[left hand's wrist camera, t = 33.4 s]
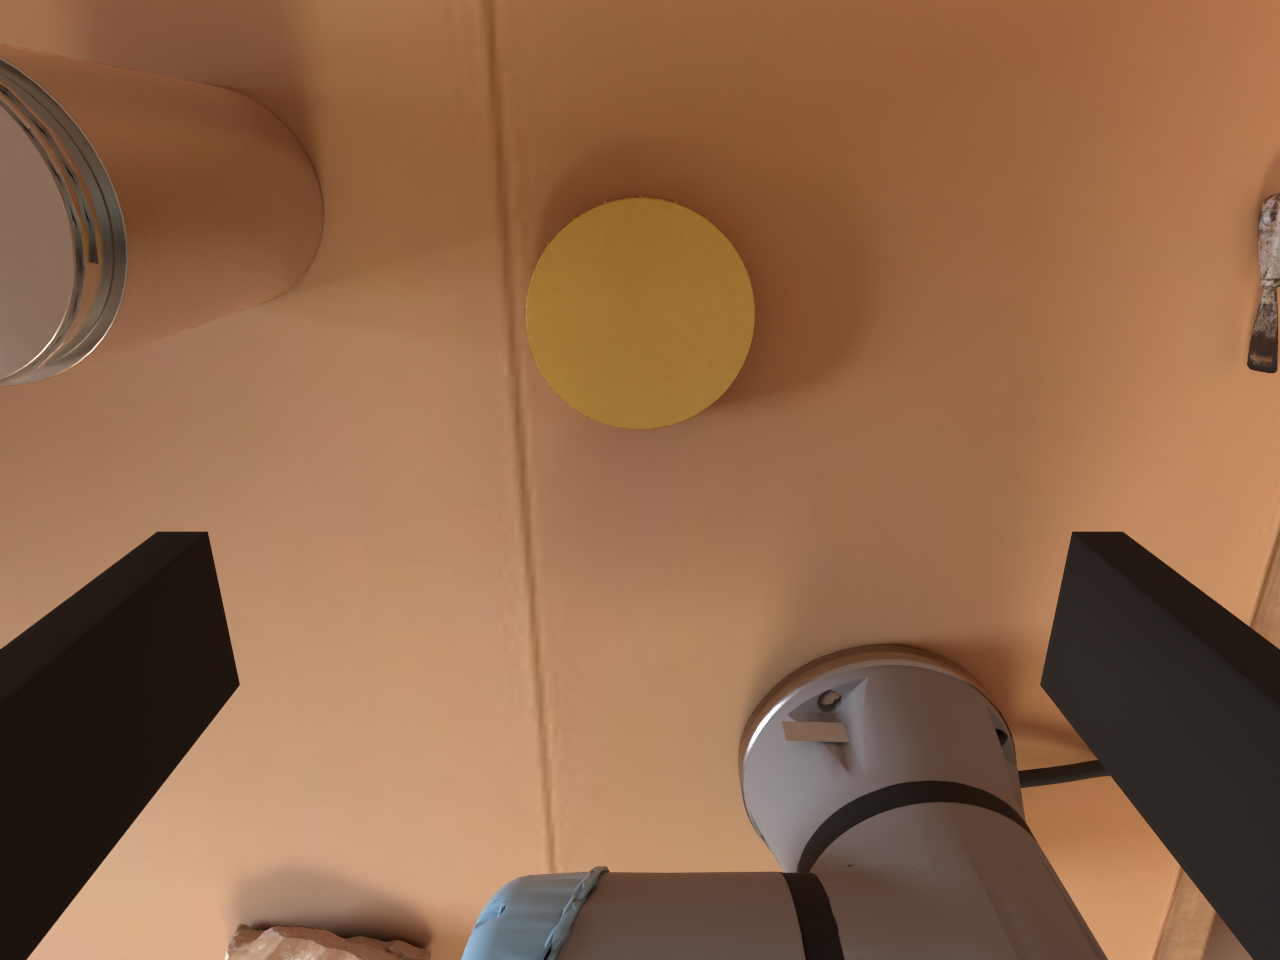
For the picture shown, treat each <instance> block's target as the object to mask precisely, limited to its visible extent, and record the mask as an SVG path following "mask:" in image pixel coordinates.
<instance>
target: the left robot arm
mask: <svg viewBox="0 0 1280 960" xmlns="http://www.w3.org/2000/svg"><path fill="white" fill-rule="evenodd" d="M239 685H240V684H239V679H238V674H237V669H236V664H235V660H234V655H233V650H232V645H231V641H230V636H229V631H228V626H227V622H226V617H225V612H224V607H223V602H222V598H221V593H220V588H219V583H218V579H217V574H216V569H215V564H214V559H213V555H212V550H211V545H210V540H209V536H208V532H156V533H155V534H154V535H152V536H151V537H150V538H148V539H147V540H146V541H144V542H143V543H142V544H140V545H139V546H138V547H136V548H135V549H134V550H132V551H131V552H130V553H128V554H127V555H126V556H124V557H123V558H122V559H120V560H119V561H118V562H116V563H115V564H114V565H112V566H111V567H110V568H108V569H107V570H106V571H104V572H103V573H102V574H100V575H99V576H98V577H96V578H95V579H94V580H92V581H91V582H90V583H88V584H87V585H86V586H84V587H83V588H82V589H80V590H79V591H78V592H76V593H75V594H74V595H72V596H71V597H70V598H68V599H67V600H66V601H64V602H63V603H62V604H60V605H59V606H58V607H56V608H55V609H54V610H52V611H51V612H50V613H48V614H47V615H46V616H44V617H43V618H42V619H40V620H39V621H38V622H36V623H35V624H34V625H32V626H31V627H30V628H28V629H27V630H26V631H24V632H23V633H22V634H20V635H19V636H18V637H16V638H15V639H14V640H12V641H11V642H10V643H8V644H7V645H6V646H4V647H3V648H2V649H0V960H27V958H28V957H29V956H30V954H31V953H32V952H33V951H34V949H35V948H36V947H37V945H38V944H39V943H40V942H41V940H42V939H43V938H44V936H45V935H46V934H47V933H48V931H49V930H50V929H51V927H52V926H53V925H54V924H55V922H56V921H57V920H58V918H59V917H60V916H61V915H62V913H63V912H64V911H65V909H66V908H67V907H68V906H69V904H70V903H71V902H72V900H73V899H74V898H75V897H76V895H77V894H78V893H79V891H80V890H81V889H82V888H83V886H84V885H85V884H86V882H87V881H88V880H89V879H90V877H91V876H92V875H93V873H94V872H95V871H96V869H97V868H98V867H99V866H100V864H101V863H102V862H103V860H104V859H105V858H106V857H107V855H108V854H109V853H110V851H111V850H112V849H113V848H114V846H115V845H116V844H117V842H118V841H119V840H120V839H121V837H122V836H123V835H124V833H125V832H126V831H127V830H128V828H129V827H130V826H131V824H132V823H133V822H134V821H135V819H136V818H137V817H138V815H139V814H140V813H141V812H142V810H143V809H144V808H145V806H146V805H147V804H148V803H149V801H150V800H151V799H152V797H153V796H154V795H155V793H156V792H157V791H158V790H159V788H160V787H161V786H162V784H163V783H164V782H165V781H166V779H167V778H168V777H169V775H170V774H171V773H172V772H173V770H174V769H175V768H176V766H177V765H178V764H179V763H180V761H181V760H182V759H183V757H184V756H185V755H186V754H187V752H188V751H189V750H190V748H191V747H192V746H193V745H194V743H195V742H196V741H197V739H198V738H199V737H200V736H201V734H202V733H203V732H204V730H205V729H206V728H207V727H208V725H209V724H210V723H211V721H212V720H213V719H214V717H215V716H216V715H217V714H218V712H219V711H220V710H221V708H222V707H223V706H224V705H225V703H226V702H227V701H228V699H229V698H230V697H231V696H232V694H233V693H234V692H235V690H236V689H237V688H238V687H239ZM1040 685H1041V687H1042V688H1043V689H1044V690H1045V692H1046V693H1047V694H1048V696H1049V697H1050V698H1051V699H1052V701H1053V702H1054V703H1055V705H1056V706H1057V707H1058V708H1059V710H1060V711H1061V712H1062V714H1063V715H1064V716H1065V717H1066V719H1067V720H1068V721H1069V723H1070V724H1071V725H1072V727H1073V728H1074V729H1075V730H1076V732H1077V733H1078V734H1079V736H1080V737H1081V738H1082V739H1083V741H1084V742H1085V743H1086V745H1087V746H1088V747H1089V748H1090V750H1091V751H1092V752H1093V754H1094V755H1095V756H1096V757H1097V759H1098V760H1094V761H1088V762H1082V763H1076V764H1070V765H1064V766H1056V767H1049V768H1040V769H1032V770H1024V771H1018V770H1017V764H1016V753H1015V747H1014V742H1013V738H1012V735H1011V732H1010V730H1009V727H1008V725H1007V723H1006V721H1005V719H1004V718H1003V716H1002V714H1001V713H1000V711H999V710H998V708H997V707H996V705H995V704H994V702H993V701H992V699H991V698H990V696H989V695H988V693H987V692H986V691H985V689H984V688H983V687H982V685H981V684H980V683H979V682H978V681H977V680H976V679H975V678H974V677H973V676H972V675H971V674H969V673H968V672H967V671H966V670H964V669H963V668H961V667H960V666H958V665H957V664H955V663H954V662H952V661H950V660H948V659H946V658H944V657H941V656H939V655H936V654H934V653H931V652H928V651H924V650H921V649H916V648H911V647H906V646H896V645H872V646H862V647H855V648H850V649H846V650H841V651H838V652H835V653H831V654H828V655H825V656H823V657H821V658H818V659H816V660H813V661H811V662H809V663H808V664H806V665H804V666H802V667H800V668H799V669H797V670H795V671H794V672H792V673H791V674H789V675H788V676H787V677H785V678H784V679H783V680H781V681H780V682H779V683H778V684H777V685H776V686H775V687H774V688H772V689H771V690H770V691H769V692H768V694H767V695H766V696H765V697H764V698H763V699H762V700H761V702H760V703H759V704H758V706H757V707H756V709H755V710H754V712H753V714H752V715H751V717H750V719H749V721H748V723H747V725H746V727H745V730H744V733H743V736H742V739H741V743H740V748H739V757H738V768H739V777H740V783H741V789H742V795H743V801H744V806H745V809H746V812H747V815H748V817H749V820H750V822H751V824H752V826H753V827H754V829H755V831H756V832H757V834H758V835H759V836H760V838H761V839H762V840H763V842H764V843H765V844H766V845H767V847H768V848H769V849H770V850H771V851H772V853H773V855H774V857H775V858H776V860H777V862H778V863H779V865H780V867H781V868H782V870H783V872H784V873H782V872H707V873H622V872H609V870H608V868H607V867H602V866H599V867H595V868H593V869H592V870H591V871H590V872H576V873H559V874H542V875H529V876H524V877H520V878H517V879H514V880H512V881H511V882H509V883H507V884H506V885H504V886H503V887H502V888H501V889H500V890H499V891H498V892H496V894H495V895H494V896H493V897H492V898H491V899H490V900H489V902H488V903H487V905H486V906H485V908H484V909H483V911H482V912H481V914H480V916H479V918H478V920H477V922H476V924H475V926H474V929H473V931H472V934H471V935H470V938H469V940H468V943H467V945H466V948H465V950H464V953H463V956H462V959H461V960H1108V959H1107V957H1106V955H1105V954H1104V952H1103V950H1102V949H1101V947H1100V945H1099V944H1098V942H1097V940H1096V939H1095V937H1094V936H1093V934H1092V932H1091V931H1090V929H1089V927H1088V926H1087V924H1086V922H1085V921H1084V919H1083V917H1082V916H1081V914H1080V912H1079V911H1078V909H1077V907H1076V906H1075V904H1074V902H1073V901H1072V899H1071V897H1070V896H1069V894H1068V892H1067V891H1066V889H1065V887H1064V886H1063V884H1062V882H1061V881H1060V879H1059V877H1058V876H1057V874H1056V872H1055V871H1054V869H1053V867H1052V866H1051V864H1050V862H1049V861H1048V859H1047V857H1046V856H1045V854H1044V852H1043V851H1042V849H1041V847H1040V846H1039V844H1038V843H1037V841H1036V839H1035V838H1034V836H1033V834H1032V833H1031V831H1030V829H1029V827H1028V825H1027V824H1026V822H1025V815H1024V808H1023V802H1022V795H1021V788H1025V787H1033V786H1041V785H1049V784H1057V783H1064V782H1071V781H1077V780H1082V779H1088V778H1094V777H1101V776H1111V777H1112V778H1113V779H1114V781H1115V782H1116V783H1117V784H1118V786H1119V787H1120V788H1121V790H1122V791H1123V792H1124V793H1125V795H1126V796H1127V797H1128V799H1129V800H1130V801H1131V803H1132V804H1133V805H1134V806H1135V808H1136V809H1137V810H1138V812H1139V813H1140V814H1141V815H1142V817H1143V818H1144V819H1145V821H1146V822H1147V823H1148V824H1149V826H1150V827H1151V828H1152V830H1153V831H1154V832H1155V833H1156V835H1157V836H1158V837H1159V839H1160V840H1161V841H1162V842H1163V844H1164V845H1165V846H1166V848H1167V849H1168V850H1169V851H1170V853H1171V854H1172V855H1173V857H1174V858H1175V859H1176V860H1177V862H1178V863H1179V864H1180V866H1181V867H1182V868H1183V869H1184V871H1185V872H1186V873H1187V875H1188V876H1189V877H1190V879H1191V880H1192V881H1193V882H1194V884H1195V885H1196V886H1197V888H1198V889H1199V890H1200V891H1201V893H1202V894H1203V895H1204V897H1205V898H1206V899H1207V900H1208V902H1209V903H1210V904H1211V906H1212V907H1213V908H1214V909H1215V911H1216V912H1217V913H1218V915H1219V916H1220V917H1221V918H1222V920H1223V921H1224V922H1225V924H1226V925H1227V926H1228V927H1229V929H1230V930H1231V931H1232V933H1233V934H1234V935H1235V936H1236V938H1237V939H1238V940H1239V942H1240V943H1241V944H1242V945H1243V947H1244V948H1245V949H1246V951H1247V952H1248V953H1249V954H1250V956H1251V957H1252V958H1253V960H1280V649H1278V648H1277V647H1276V646H1274V645H1273V644H1272V643H1270V642H1269V641H1268V640H1266V639H1265V638H1264V637H1262V636H1261V635H1260V634H1258V633H1257V632H1256V631H1254V630H1253V629H1252V628H1250V627H1249V626H1248V625H1246V624H1245V623H1244V622H1242V621H1241V620H1240V619H1238V618H1237V617H1236V616H1234V615H1233V614H1232V613H1230V612H1229V611H1228V610H1226V609H1225V608H1224V607H1222V606H1221V605H1220V604H1218V603H1217V602H1216V601H1214V600H1213V599H1212V598H1210V597H1209V596H1208V595H1206V594H1205V593H1204V592H1202V591H1201V590H1200V589H1198V588H1197V587H1196V586H1194V585H1193V584H1192V583H1190V582H1189V581H1188V580H1186V579H1185V578H1184V577H1182V576H1181V575H1180V574H1178V573H1177V572H1176V571H1174V570H1173V569H1172V568H1170V567H1169V566H1168V565H1166V564H1165V563H1164V562H1162V561H1161V560H1160V559H1158V558H1157V557H1156V556H1154V555H1153V554H1152V553H1150V552H1149V551H1148V550H1146V549H1145V548H1144V547H1142V546H1141V545H1140V544H1138V543H1137V542H1136V541H1134V540H1133V539H1132V538H1130V537H1129V536H1128V535H1126V534H1125V533H1124V532H1072V536H1071V540H1070V545H1069V550H1068V555H1067V559H1066V564H1065V569H1064V574H1063V579H1062V583H1061V588H1060V593H1059V598H1058V602H1057V607H1056V612H1055V617H1054V622H1053V626H1052V631H1051V636H1050V641H1049V645H1048V650H1047V655H1046V660H1045V664H1044V669H1043V674H1042V679H1041V684H1040Z"/></svg>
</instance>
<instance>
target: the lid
mask: <svg viewBox="0 0 1280 960" xmlns="http://www.w3.org/2000/svg"><path fill="white" fill-rule="evenodd" d="M572 220H573V221H571V222H570V223H569V224H568V225H567V226H566V227H564V228H563V229H562V230H561V231H560V232H559V233H558V234H557V235H556V236H555V237H554V239H553V240H551V241H549V242H548V243H547V245H548V246H547V247H546V249H545V251H544V252H543V254H542V255H541V257H540V259H539V261H538V263H537V265H536V267H535V269H534V272H533V273H532V274H531V277H532V278H531V281H530V284H529V287H528V293H527V300H526V308H525V311H526V328H527V335H528V339H529V345H530V348H531V350H532V353H533V356H534V359H535V361H536V363H537V365H538V367H539V369H540V371H541V373H542V374H543V376H544V377H545V379H546V380H547V382H548V383H549V385H550V386H551V387H552V388H553V389H554V390H555V392H556V393H557V394H558V395H559V396H560V397H561V398H562V399H563V400H565V401H566V402H567V403H568V404H569V405H570V406H572V407H573V408H575V409H576V410H578V411H579V412H581V413H582V414H584V415H586V416H588V417H590V418H592V419H594V420H596V421H599V422H602V423H604V424H607V425H610V426H615V427H620V428H626V429H655V428H661V427H666V426H670V425H673V424H676V423H680V422H682V421H684V420H687V419H689V418H691V417H693V416H695V415H697V414H698V413H700V412H702V411H703V410H705V409H706V408H708V407H709V406H710V405H711V404H713V403H714V402H715V401H716V400H718V399H719V398H720V397H721V395H722V394H723V393H724V392H725V391H726V390H727V389H728V388H729V387H730V385H731V384H732V383H733V381H734V380H735V379H736V377H737V375H738V374H739V372H740V370H741V368H742V367H743V365H744V363H745V360H746V358H747V355H748V353H749V350H750V346H751V344H752V339H753V333H754V326H755V311H756V308H755V302H754V294H753V289H752V285H751V282H750V278H749V276H750V274H749V273H748V272H747V270H746V268H745V265H744V263H743V261H742V259H741V258H740V256H739V254H738V252H737V251H736V249H735V248H734V246H733V245H734V244H733V242H731V241H730V240H728V239H727V237H726V236H725V235H724V234H723V233H722V232H721V231H720V230H719V229H718V228H717V227H716V226H714V225H713V224H712V223H710V222H709V221H708V220H709V218H707V217H706V216H704V217H702V216H701V215H700V214H698V213H696V212H694V211H692V210H691V209H689V208H687V207H685V206H682V205H680V204H677V202H676V201H675V200H674V201H673V202H671V201H667V200H663V199H658V198H649V197H642V195H639V197H631V198H623V199H618V200H613V201H610V202H607V200H606V201H604V204H601V205H598V206H596V207H594V208H592V209H590V210H588V211H586V212H584V213H583V214H581V215H580V216H579V217H576V216H575V217H573V218H572Z"/></svg>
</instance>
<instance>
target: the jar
mask: <svg viewBox="0 0 1280 960" xmlns="http://www.w3.org/2000/svg"><path fill="white" fill-rule="evenodd" d="M322 228H323V204H322V196H321V192H320V187H319V183H318V180H317V177H316V174H315V171H314V168H313V166H312V164H311V162H310V160H309V158H308V156H307V154H306V152H305V151H304V149H303V148H302V146H301V144H300V143H299V141H298V140H297V139H296V137H295V136H294V135H293V134H292V132H291V131H290V130H289V129H288V128H287V127H286V126H285V125H284V123H283V122H282V121H281V120H280V119H279V118H278V117H276V116H275V115H274V114H273V113H271V112H270V111H269V110H268V109H266V108H265V107H264V106H262V105H260V104H259V103H257V102H256V101H254V100H252V99H251V98H248V97H246V96H244V95H242V94H240V93H238V92H235V91H232V90H229V89H226V88H222V87H217V86H212V85H207V84H202V83H197V82H192V81H187V80H182V79H176V78H171V77H166V76H161V75H156V74H151V73H146V72H141V71H136V70H131V69H125V68H120V67H115V66H110V65H105V64H100V63H95V62H90V61H85V60H80V59H74V58H69V57H64V56H59V55H54V54H49V53H44V52H39V51H34V50H29V49H23V48H18V47H13V46H8V45H3V44H0V386H10V385H21V384H29V383H33V382H37V381H42V380H46V379H49V378H51V377H54V376H57V375H60V374H63V373H66V372H68V371H71V370H74V369H77V368H80V367H83V366H85V365H88V364H91V363H94V362H97V361H100V360H102V359H105V358H108V357H111V356H114V355H117V354H119V353H122V352H125V351H128V350H131V349H133V348H136V347H139V346H142V345H145V344H148V343H150V342H153V341H156V340H159V339H162V338H165V337H167V336H170V335H173V334H176V333H179V332H182V331H184V330H187V329H190V328H193V327H196V326H199V325H201V324H204V323H207V322H210V321H213V320H216V319H218V318H221V317H224V316H227V315H230V314H232V313H235V312H238V311H241V310H244V309H247V308H249V307H252V306H255V305H258V304H261V303H264V302H266V301H269V300H271V299H274V298H276V297H278V296H279V295H281V294H283V293H285V292H286V291H287V290H289V289H290V288H291V287H292V286H294V285H295V284H296V283H297V282H298V281H299V280H300V279H301V278H302V276H303V275H304V274H305V273H306V271H307V270H308V268H309V267H310V265H311V263H312V261H313V259H314V257H315V255H316V253H317V250H318V247H319V243H320V240H321V234H322Z"/></svg>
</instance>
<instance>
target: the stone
mask: <svg viewBox="0 0 1280 960" xmlns="http://www.w3.org/2000/svg"><path fill="white" fill-rule="evenodd" d="M430 958H431V951H429V950H425V949H421V948H418V947H413V946H412V945H410V944H408V943H406V942H403V941H400V940H393V941H389V942H384V941H380V940H377V939H371V938H368V937H364V936H356V937H352V938H344V939H343V938H341V937H339V936H337V935H335V934H333V933H331V932H329V931H326V930H318V929H309V928H304V927H284V926H275V927H272V928H270V929H268V930H254V929H253V928H251V927H249V926H247V925H243V924H239V925H238V927H237V929H236V931H235V933H234V934H233V937H232V939H231V941H230V943H229V946H228V948H227V953H226V955H225V958H224V960H430Z"/></svg>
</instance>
